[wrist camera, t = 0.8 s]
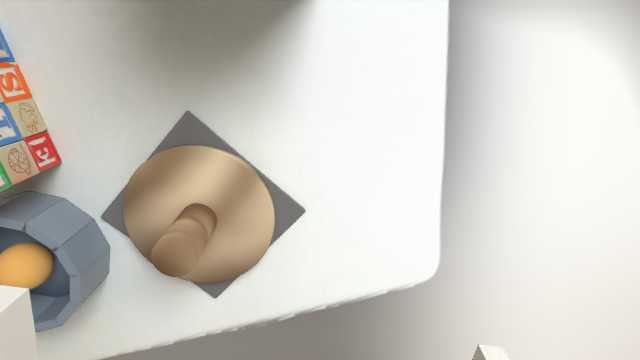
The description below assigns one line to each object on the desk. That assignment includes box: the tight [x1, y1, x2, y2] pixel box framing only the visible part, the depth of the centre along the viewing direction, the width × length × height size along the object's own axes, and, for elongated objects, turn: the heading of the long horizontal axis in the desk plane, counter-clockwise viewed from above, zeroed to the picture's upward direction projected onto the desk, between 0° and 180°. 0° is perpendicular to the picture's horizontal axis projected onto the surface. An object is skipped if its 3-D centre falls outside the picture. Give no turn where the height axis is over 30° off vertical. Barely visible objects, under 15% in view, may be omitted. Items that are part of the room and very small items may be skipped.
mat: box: [101, 111, 305, 298], centre depth 36 cm, size 14×14×1 cm
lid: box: [123, 144, 275, 283], centre depth 32 cm, size 14×14×8 cm
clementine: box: [0, 242, 54, 290], centre depth 35 cm, size 4×4×4 cm
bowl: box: [0, 191, 110, 333], centre depth 35 cm, size 12×12×5 cm
